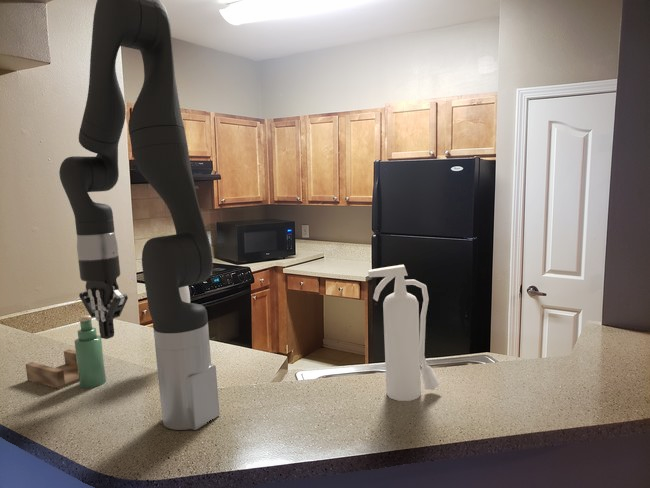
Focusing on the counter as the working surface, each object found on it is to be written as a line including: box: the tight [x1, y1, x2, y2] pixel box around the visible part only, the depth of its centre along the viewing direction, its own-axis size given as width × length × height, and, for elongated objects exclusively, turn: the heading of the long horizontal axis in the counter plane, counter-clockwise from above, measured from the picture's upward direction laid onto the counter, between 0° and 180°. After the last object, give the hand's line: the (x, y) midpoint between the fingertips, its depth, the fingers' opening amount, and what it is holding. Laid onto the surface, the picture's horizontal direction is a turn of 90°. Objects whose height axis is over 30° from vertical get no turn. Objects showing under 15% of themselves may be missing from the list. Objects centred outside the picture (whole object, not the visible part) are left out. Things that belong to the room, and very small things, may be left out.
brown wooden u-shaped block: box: [25, 349, 79, 390], centre depth 112 cm, size 12×10×4 cm
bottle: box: [74, 314, 107, 389], centre depth 106 cm, size 5×5×15 cm
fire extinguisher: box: [368, 264, 442, 402], centre depth 93 cm, size 7×12×25 cm, turn 85°
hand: (107, 337), depth 103 cm, fingers closed
